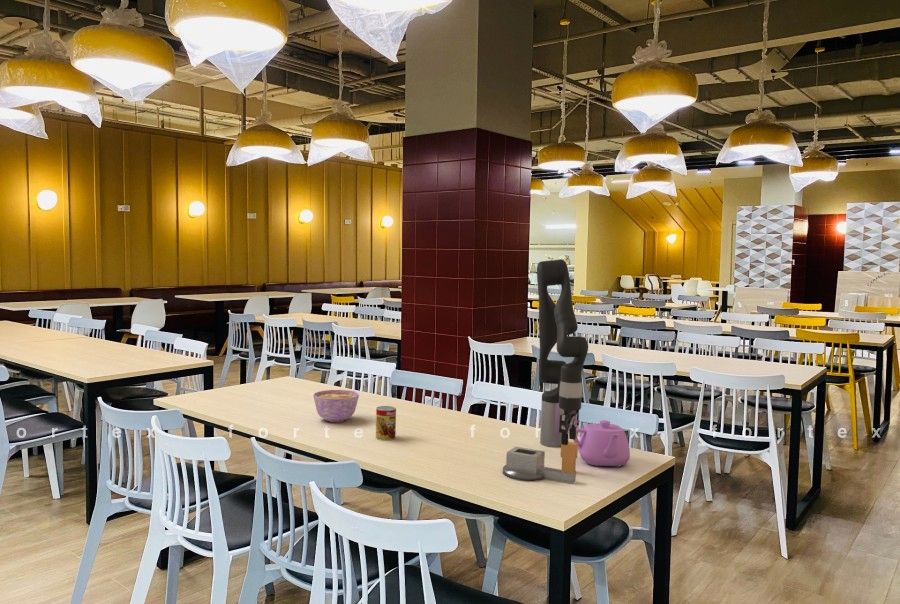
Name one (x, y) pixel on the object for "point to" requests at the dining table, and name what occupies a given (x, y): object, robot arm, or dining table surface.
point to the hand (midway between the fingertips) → (568, 441)
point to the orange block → (569, 456)
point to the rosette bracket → (533, 467)
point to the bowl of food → (336, 404)
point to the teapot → (603, 444)
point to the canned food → (385, 422)
